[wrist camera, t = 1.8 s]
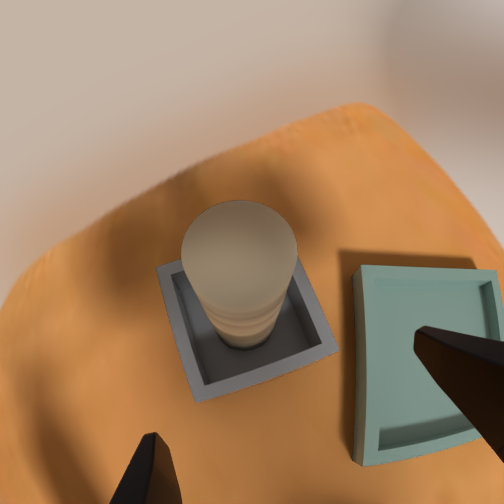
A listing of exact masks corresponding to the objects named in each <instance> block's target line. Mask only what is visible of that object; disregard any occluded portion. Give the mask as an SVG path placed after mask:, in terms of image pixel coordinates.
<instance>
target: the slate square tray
mask: <svg viewBox="0 0 504 504" xmlns="http://www.w3.org/2000/svg"><path fill="white" fill-rule="evenodd" d="M156 270H157V275H158V279H159V283H160V287H161V291H162V295H163V299H164V302H165V306H166V310H167V314H168V317H169V321H170V324H171V328H172V331H173V335H174V338H175V342H176V345H177V348H178V352H179V355H180V358H181V361H182V364H183V368H184V371H185V374H186V377H187V380H188V383H189V386H190V389H191V392H192V395H193V397H194V400H195V403H198V402H203V401H207V400H211V399H214V398H217V397H221V396H224V395H227V394H230V393H233V392H236V391H239V390H242V389H245V388H248V387H251V386H254V385H257V384H260V383H262V382H265V381H268V380H271V379H273V378H276V377H279V376H281V375H284V374H287V373H289V372H292V371H294V370H297V369H299V368H302V367H304V366H307V365H309V364H312V363H314V362H316V361H319V360H321V359H323V358H325V357H328V356H330V355H332V354H334V353H336V352H338V351H340V350H339V348H338V345H337V343H336V341H335V338H334V336H333V334H332V331H331V329H330V327H329V324H328V322H327V320H326V317H325V315H324V313H323V311H322V308H321V306H320V304H319V302H318V299H317V297H316V295H315V293H314V290H313V288H312V286H311V284H310V282H309V279H308V277H307V275H306V273H305V271H304V268H303V266H302V264H301V262H300V260H299V258H298V255H297V261H296V266H295V269H294V272H293V274H292V277H291V280H290V283H289V286H288V289H287V292H286V295H285V297H284V300H283V303H282V306H281V309H280V311H279V314H278V317H277V320H276V322H275V325H274V328H273V331H272V333H271V335H270V337H269V338H268V340H267V341H266V342H265V343H264V344H263V345H261V346H260V347H258V348H255V349H253V350H248V351H241V350H236V349H233V348H230V347H229V346H227V345H226V344H224V343H223V342H222V341H221V339H220V338H219V336H218V335H217V333H216V331H215V329H214V327H213V325H212V324H211V322H210V320H209V318H208V316H207V314H206V312H205V310H204V309H203V307H202V305H201V303H200V301H199V299H198V297H197V295H196V293H195V291H194V289H193V287H192V285H191V283H190V281H189V279H188V277H187V275H186V273H185V271H184V268H183V265H182V260H181V259H179V260H176V261H173V262H170V263H167V264H164V265H161V266H158V267H156Z"/></svg>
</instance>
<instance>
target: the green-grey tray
mask: <svg viewBox="0 0 504 504" xmlns="http://www.w3.org/2000/svg"><path fill="white" fill-rule="evenodd" d="M352 284H353V300H354V321H355V359H356V385H355V422H354V441H353V456H352V461H354V462H355V463H357V464H359V465H361V466H362V467H365V466H371V465H378V464H384V463H389V462H395V461H400V460H405V459H409V458H414V457H418V456H422V455H426V454H430V453H434V452H438V451H441V450H445V449H448V448H451V447H455V446H458V445H461V444H464V443H467V442H470V441H473V440H476V439H479V438H481V437H482V436H481V435H480V433H479V432H478V431H477V430H476V429H475V427H474V426H473V425H472V424H471V423H470V421H469V420H468V419H467V418H466V417H465V416H464V414H463V413H462V412H461V411H460V410H459V409H458V408H457V406H456V405H455V404H454V403H453V402H452V401H451V399H450V398H449V397H448V396H447V395H446V394H445V393H444V392H443V390H442V389H441V388H440V387H439V386H438V385H437V383H436V382H435V381H434V380H433V378H432V377H431V375H430V374H429V373H428V371H427V370H426V368H425V367H424V366H423V364H422V363H421V361H420V360H419V359H418V357H417V356H416V354H415V353H414V350H413V344H414V333H415V331H416V330H417V329H419V328H420V327H422V326H431V327H435V328H440V329H444V330H449V331H454V332H459V333H464V334H468V335H473V336H478V337H483V338H488V339H493V340H498V341H504V309H503V303H502V297H501V292H500V286H499V281H498V277H497V272H496V270H480V269H453V268H428V267H404V266H381V265H360V267H359V268H358V269H357V270H356V272H355V273H354V274H353V275H352Z"/></svg>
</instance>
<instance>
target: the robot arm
mask: <svg viewBox="0 0 504 504" xmlns="http://www.w3.org/2000/svg"><path fill="white" fill-rule="evenodd" d="M413 350H414V353H415V354H416V356H417V357H418V359H419V360H420V361H421V363H422V364H423V366H424V367H425V368H426V370H427V371H428V373H429V374H430V375H431V377H432V378H433V380H434V381H435V382H436V383H437V385H438V386H439V387H440V388H441V389H442V390H443V392H444V393H445V394H446V395H447V396H448V397H449V398H450V399H451V401H452V402H453V403H454V404H455V405H456V406H457V408H458V409H459V410H460V411H461V412H462V413H463V414H464V416H465V417H466V418H467V419H468V420H469V421H470V423H471V424H472V425H473V426H474V427H475V429H476V430H477V431H478V432H479V433H480V435H481V436H482V437H483V438H484V439H485V441H486V442H487V443H488V444H489V445H490V447H491V448H492V449H493V450H494V452H495V453H496V454H497V455H498V457H499V458H500V459H501V460H502V462H503V463H504V341H498V340H493V339H488V338H483V337H478V336H473V335H468V334H464V333H459V332H454V331H449V330H444V329H440V328H435V327H431V326H422V327H420V328H419V329H417V330H416V331H415V333H414V344H413ZM109 504H182V498H181V492H180V488H179V484H178V480H177V477H176V473H175V469H174V465H173V461H172V457H171V453H170V450H169V447H168V446H167V444H166V443H165V442H164V441H163V439H162V438H161V437H160V436H159V434H158V433H156V432H153V433H148V434H145V435H144V436H143V437H142V439H141V441H140V443H139V445H138V447H137V449H136V451H135V453H134V455H133V457H132V459H131V461H130V463H129V465H128V467H127V469H126V471H125V473H124V475H123V477H122V479H121V481H120V483H119V485H118V487H117V489H116V491H115V493H114V495H113V497H112V499H111V501H110V503H109Z"/></svg>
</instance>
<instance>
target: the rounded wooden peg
mask: <svg viewBox="0 0 504 504" xmlns="http://www.w3.org/2000/svg"><path fill="white" fill-rule="evenodd" d="M297 253H298V250H297V242H296V238H295V235H294V233H293V231H292V229H291V227H290V225H289V224H288V223H287V221H286V220H285V219H284V218H283V217H282V216H281V215H280V214H279V213H277V212H276V211H275V210H273V209H271V208H270V207H268V206H266V205H263V204H260V203H257V202H253V201H247V200H234V201H227V202H223V203H220V204H217V205H214V206H212V207H210V208H208V209H207V210H205V211H204V212H202V213H201V214H200V215H199V216H198V217H197V218H196V219H195V220H194V221H193V222H192V223H191V225H190V226H189V228H188V229H187V231H186V233H185V236H184V238H183V242H182V247H181V260H182V265H183V268H184V271H185V273H186V275H187V277H188V279H189V281H190V283H191V285H192V287H193V289H194V291H195V293H196V295H197V297H198V299H199V301H200V303H201V305H202V307H203V309H204V310H205V312H206V314H207V316H208V318H209V320H210V322H211V324H212V325H213V327H214V329H215V331H216V333H217V335H218V336H219V338H220V339H221V341H222V342H223V343H224V344H226V345H227V346H229V347H230V348H233V349H236V350H241V351H248V350H253V349H255V348H258V347H260V346H261V345H263V344H264V343H265V342H266V341H267V340H268V338H269V337H270V335H271V333H272V331H273V328H274V325H275V322H276V320H277V317H278V314H279V311H280V309H281V306H282V303H283V300H284V297H285V295H286V292H287V289H288V286H289V283H290V280H291V277H292V274H293V272H294V269H295V266H296V261H297Z"/></svg>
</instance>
